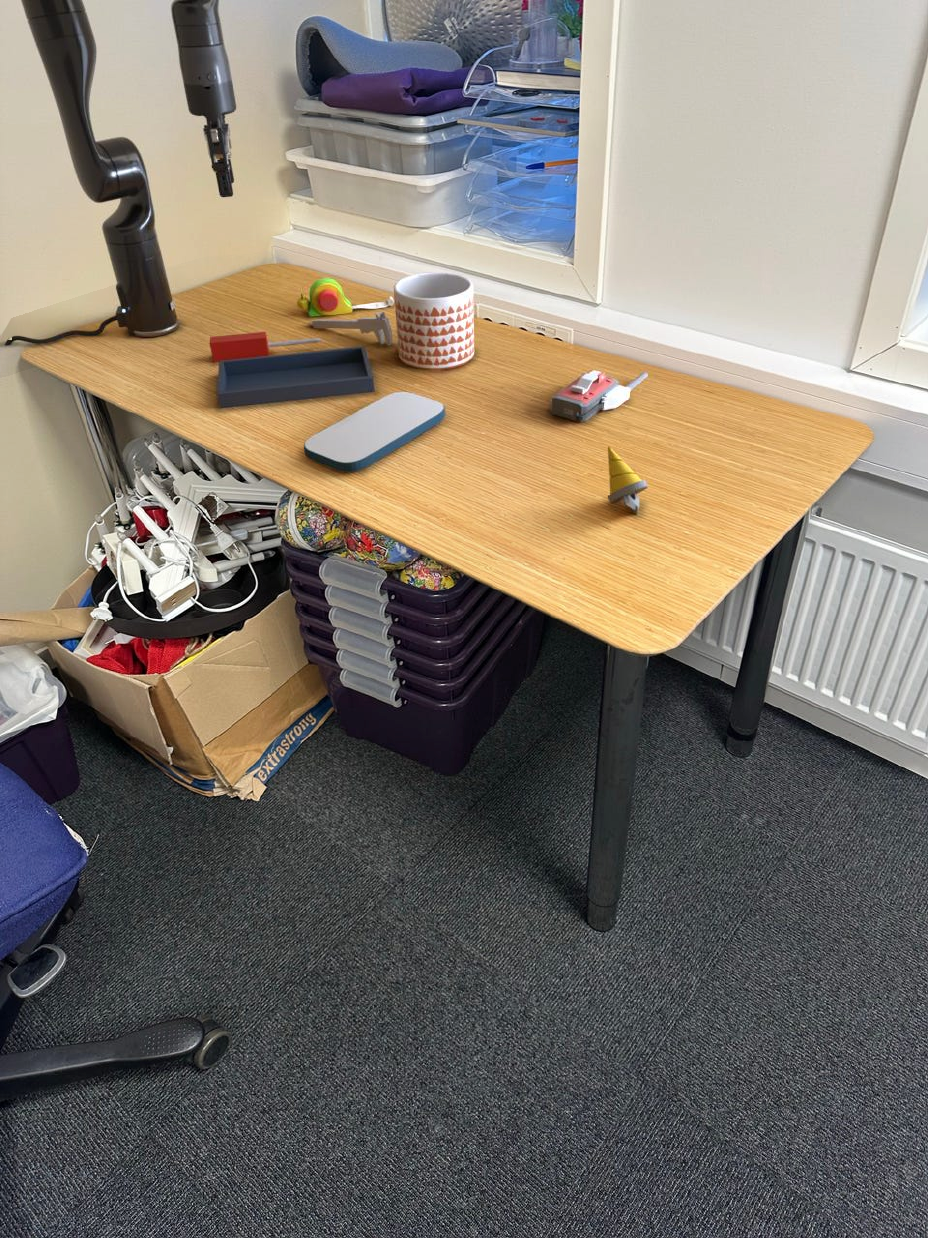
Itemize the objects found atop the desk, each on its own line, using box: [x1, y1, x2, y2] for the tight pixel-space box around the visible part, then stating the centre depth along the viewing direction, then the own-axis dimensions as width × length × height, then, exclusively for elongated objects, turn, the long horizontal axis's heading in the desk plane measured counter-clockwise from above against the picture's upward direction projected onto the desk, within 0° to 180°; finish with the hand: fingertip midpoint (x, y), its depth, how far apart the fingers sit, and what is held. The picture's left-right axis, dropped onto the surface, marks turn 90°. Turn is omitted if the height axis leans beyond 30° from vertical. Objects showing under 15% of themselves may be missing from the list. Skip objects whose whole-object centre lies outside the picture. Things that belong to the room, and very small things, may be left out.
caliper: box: [308, 311, 393, 347], centre depth 164 cm, size 20×1×6 cm, turn 55°
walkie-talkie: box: [550, 369, 648, 423], centre depth 141 cm, size 9×4×20 cm
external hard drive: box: [303, 391, 446, 473], centre depth 134 cm, size 24×12×2 cm, turn 142°
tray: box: [216, 345, 376, 409], centre depth 149 cm, size 26×14×3 cm, turn 101°
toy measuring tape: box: [296, 277, 395, 318], centre depth 174 cm, size 6×20×7 cm, turn 104°
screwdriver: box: [208, 331, 323, 364], centre depth 158 cm, size 20×3×4 cm, turn 101°
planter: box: [393, 271, 475, 371], centre depth 153 cm, size 14×14×13 cm
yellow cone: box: [607, 446, 649, 515], centre depth 116 cm, size 5×5×10 cm
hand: (227, 189), depth 147 cm, fingers open, 8 cm apart
